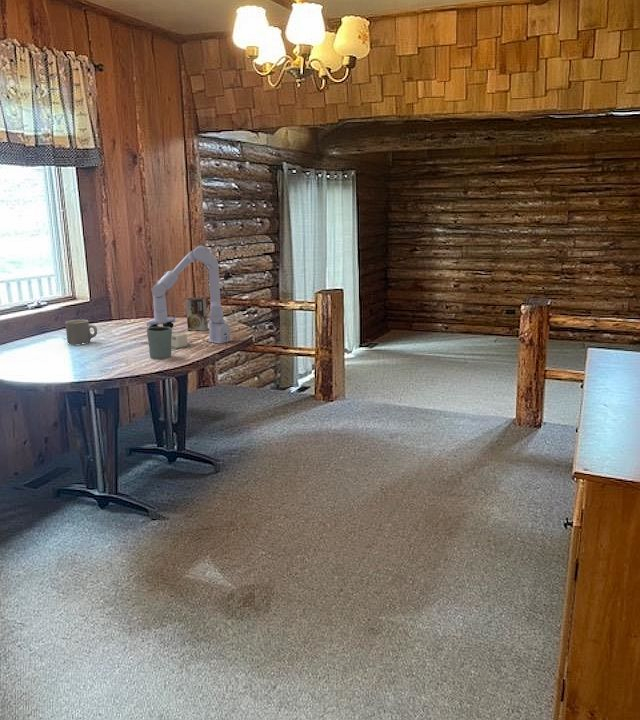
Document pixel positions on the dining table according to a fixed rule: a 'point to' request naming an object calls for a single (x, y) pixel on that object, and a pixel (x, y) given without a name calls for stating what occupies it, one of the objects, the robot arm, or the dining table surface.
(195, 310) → the coffee box
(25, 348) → the dining table surface
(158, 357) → the green tapered cup
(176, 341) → the cream rectangular block
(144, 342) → the mat
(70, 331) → the coffee mug
